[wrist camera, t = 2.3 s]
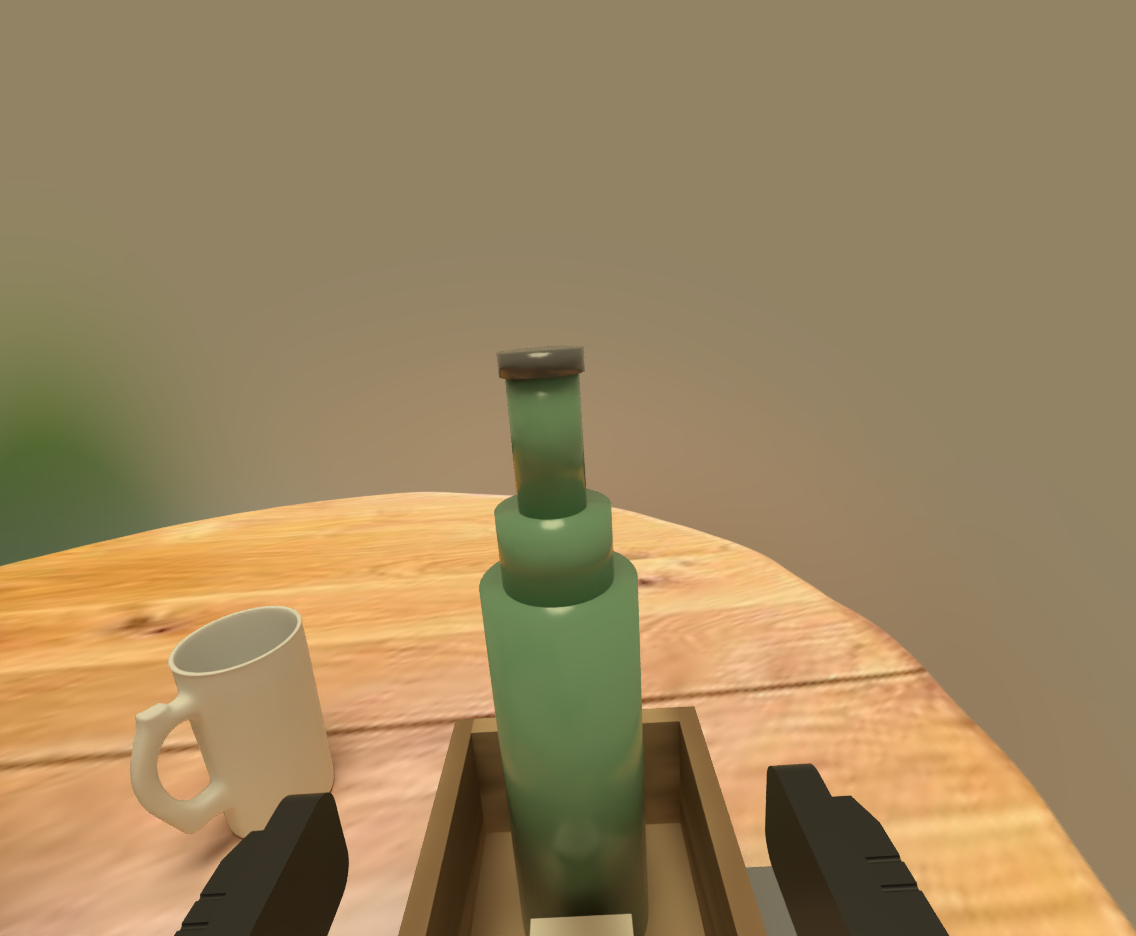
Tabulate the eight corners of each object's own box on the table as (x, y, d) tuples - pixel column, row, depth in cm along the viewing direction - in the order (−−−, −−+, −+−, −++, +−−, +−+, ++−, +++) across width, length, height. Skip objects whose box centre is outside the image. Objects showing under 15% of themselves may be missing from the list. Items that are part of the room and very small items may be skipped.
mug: (294, 742, 39) (256, 597, 36) (361, 771, 36) (326, 617, 33) (140, 870, 31) (70, 696, 27) (211, 922, 28) (142, 734, 24)
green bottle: (495, 917, 26) (411, 359, 18) (575, 822, 30) (536, 342, 23) (597, 1017, 22) (546, 361, 14) (672, 891, 27) (664, 340, 19)
